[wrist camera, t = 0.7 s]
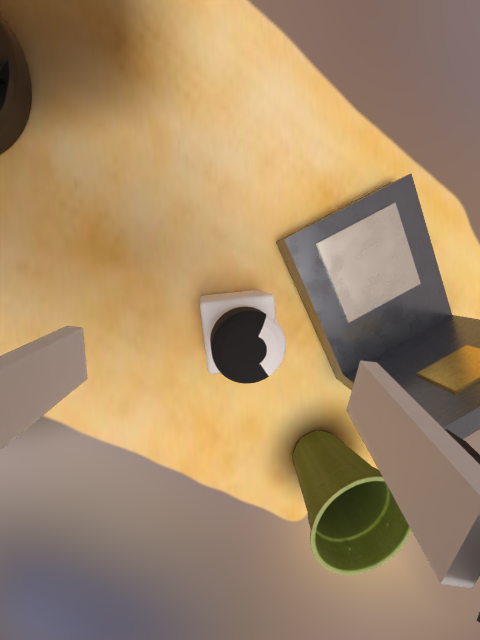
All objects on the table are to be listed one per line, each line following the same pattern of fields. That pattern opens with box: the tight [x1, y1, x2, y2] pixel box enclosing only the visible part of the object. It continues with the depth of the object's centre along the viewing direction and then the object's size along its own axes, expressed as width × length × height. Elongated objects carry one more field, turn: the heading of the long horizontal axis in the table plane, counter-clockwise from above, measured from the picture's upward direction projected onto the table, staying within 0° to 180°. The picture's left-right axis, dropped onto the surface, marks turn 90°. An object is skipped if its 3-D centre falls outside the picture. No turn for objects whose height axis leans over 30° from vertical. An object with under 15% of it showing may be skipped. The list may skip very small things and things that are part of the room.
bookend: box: [276, 174, 480, 439], centre depth 25 cm, size 20×16×15 cm
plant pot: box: [293, 431, 412, 575], centre depth 31 cm, size 12×12×11 cm
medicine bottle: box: [200, 290, 286, 383], centre depth 25 cm, size 7×7×12 cm
